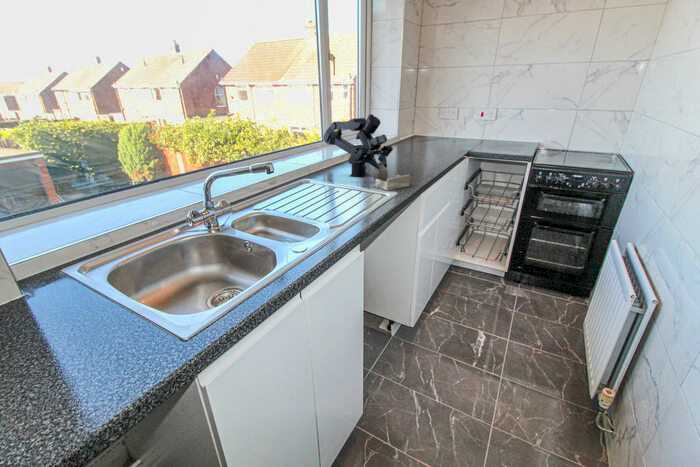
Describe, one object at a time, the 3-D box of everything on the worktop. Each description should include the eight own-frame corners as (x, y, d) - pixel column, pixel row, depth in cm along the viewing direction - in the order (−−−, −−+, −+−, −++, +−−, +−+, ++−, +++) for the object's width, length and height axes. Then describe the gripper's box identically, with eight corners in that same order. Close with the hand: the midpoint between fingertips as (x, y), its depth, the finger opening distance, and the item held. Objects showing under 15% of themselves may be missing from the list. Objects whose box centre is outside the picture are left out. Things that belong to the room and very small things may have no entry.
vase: (371, 183, 152) (371, 165, 148) (374, 179, 158) (374, 161, 154) (386, 184, 150) (386, 165, 147) (388, 179, 156) (388, 161, 153)
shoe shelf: (375, 186, 147) (375, 175, 145) (396, 181, 155) (397, 171, 153) (388, 190, 141) (388, 179, 139) (409, 185, 148) (410, 174, 146)
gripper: (359, 130, 143) (375, 159, 139) (391, 127, 153) (406, 154, 149) (348, 146, 152) (363, 174, 148) (379, 143, 162) (394, 169, 158)
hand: (382, 167), depth 150 cm, fingers closed on vase, 4 cm apart
